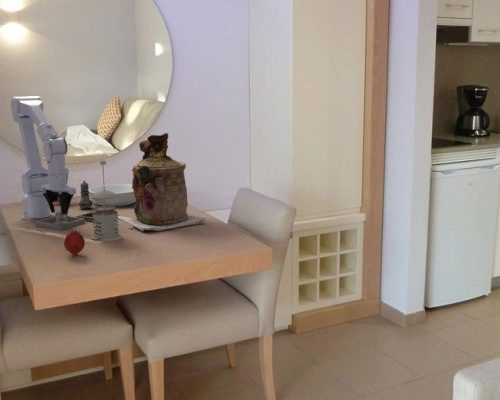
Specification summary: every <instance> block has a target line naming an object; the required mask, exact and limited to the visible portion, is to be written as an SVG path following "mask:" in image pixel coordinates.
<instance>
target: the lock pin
mask: <svg viewBox="0 0 500 400" xmlns="http://www.w3.org/2000/svg"><path fill="white" fill-rule="evenodd" d="M52 204H53V205H54V210H55V212H54V216H56V221H55V222H57V223H58V222H67V221H66V220H68V216H69V214H68V213H67V214H62V212H61V205H60V201H59V199H56V200H53V201H52Z"/></svg>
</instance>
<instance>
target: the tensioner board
mask: <svg viewBox="0 0 500 400" xmlns="http://www.w3.org/2000/svg"><path fill="white" fill-rule="evenodd" d="M94 212H95V210H94V211H90V212H86V213H83V214H79V215H75V216H74V217H78V218H85V223H87V222H88V223H93V213H94ZM101 215H103V212H101ZM112 215H113V214H112ZM118 216H120V214H118ZM94 221H95V220H94Z"/></svg>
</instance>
